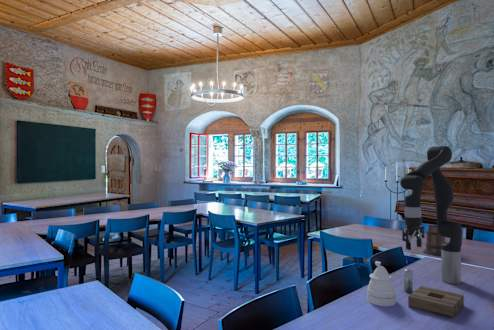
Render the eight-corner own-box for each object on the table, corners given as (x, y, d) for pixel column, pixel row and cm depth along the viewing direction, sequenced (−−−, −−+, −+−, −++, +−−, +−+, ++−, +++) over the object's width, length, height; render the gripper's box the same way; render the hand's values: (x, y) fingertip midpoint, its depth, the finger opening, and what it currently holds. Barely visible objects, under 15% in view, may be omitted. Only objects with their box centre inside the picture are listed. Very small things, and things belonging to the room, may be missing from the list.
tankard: (442, 257, 237) (441, 228, 237) (418, 253, 251) (417, 225, 251) (457, 252, 251) (457, 225, 251) (434, 248, 265) (433, 222, 265)
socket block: (421, 295, 169) (421, 285, 169) (463, 305, 157) (463, 294, 157) (408, 306, 156) (408, 295, 156) (453, 318, 144) (453, 306, 144)
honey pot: (361, 298, 167) (360, 261, 167) (381, 294, 172) (380, 258, 173) (381, 308, 156) (380, 268, 156) (402, 303, 161) (401, 264, 161)
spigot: (405, 289, 178) (405, 268, 178) (413, 291, 176) (413, 269, 176) (402, 291, 175) (402, 270, 176) (411, 293, 173) (410, 271, 173)
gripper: (414, 213, 177) (415, 244, 177) (397, 216, 170) (398, 249, 170) (428, 215, 170) (429, 247, 170) (411, 218, 163) (412, 252, 163)
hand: (413, 248), depth 170 cm, fingers open, 8 cm apart
